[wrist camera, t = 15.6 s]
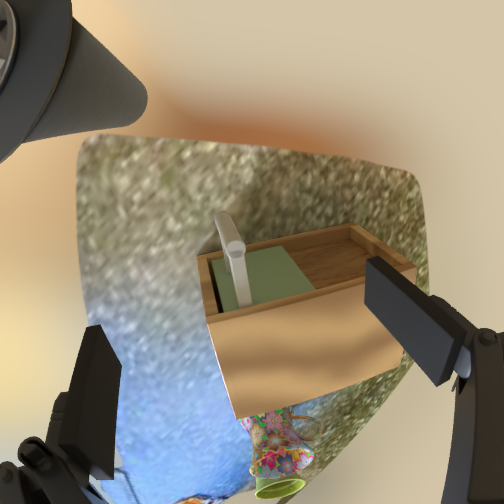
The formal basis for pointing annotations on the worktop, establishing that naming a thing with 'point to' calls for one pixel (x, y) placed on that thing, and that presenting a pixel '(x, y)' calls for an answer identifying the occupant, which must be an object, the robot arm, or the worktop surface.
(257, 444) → the mug
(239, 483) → the worktop surface
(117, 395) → the robot arm
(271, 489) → the plant pot
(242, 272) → the sliding door
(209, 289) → the cupboard
